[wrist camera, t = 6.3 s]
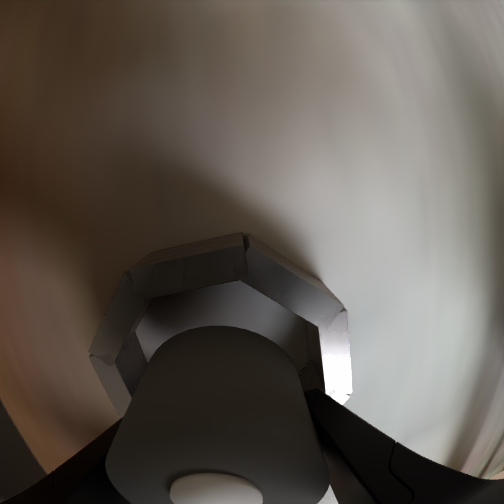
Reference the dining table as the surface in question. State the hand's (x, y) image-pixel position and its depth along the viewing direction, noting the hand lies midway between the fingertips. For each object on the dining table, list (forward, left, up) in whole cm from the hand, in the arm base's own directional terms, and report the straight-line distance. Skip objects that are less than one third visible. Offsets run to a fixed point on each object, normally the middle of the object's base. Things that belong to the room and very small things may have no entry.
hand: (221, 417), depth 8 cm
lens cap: (0, 0, -1) cm, 1 cm away
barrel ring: (0, 0, -4) cm, 4 cm away
